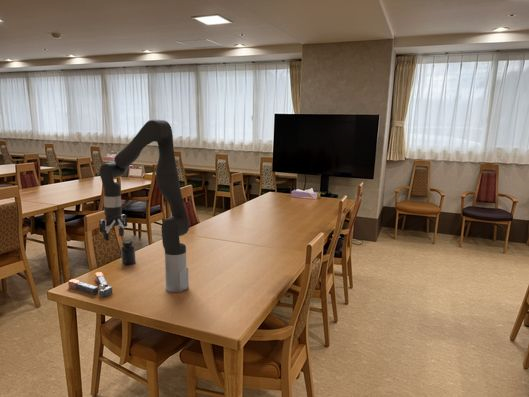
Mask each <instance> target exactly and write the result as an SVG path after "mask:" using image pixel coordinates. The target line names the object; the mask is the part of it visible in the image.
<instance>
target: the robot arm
mask: <svg viewBox="0 0 529 397" xmlns="http://www.w3.org/2000/svg"><path fill="white" fill-rule="evenodd" d="M153 142H155V143H157V147H158V148H157V149H158V161H157V165H156V169H155V177H156V181H157V187H158V190H159V192H160V193H161V195H162V196H163V197H164V199H165V200H166V202H167V203H168V205H169V209H170V212H171V216H170V217H167V218H165V219H164V220H163V221H162V223H161V238H162V246H163V249H164V265H165V266H164V268H165V270H164V271H165V290H166V291H167V292H169V293H182V292H184V291H186V290H187V289H188V288H189V286H190V285H189V279H190V278H189V268H188V267H187V246H186V244H185V243H182V242H181V241H180V240H181V239H180V237H182V236H184V235H186V234H187V233H188V232H189V229H190V221H189V219H188V214H187V211H186V210H187V209H186V208H185V203H184V200H183V194H182V190H181V186H180V183H181V182H180V177H179V172H178V168H177V163H176V162H177V161H176V158H175V149H174V137H173V130H172V126H171V124H170V123H169V122H168V121H167V120H163V119H150V120H148V121H146V122H145V124H144V125H142V127H141V128H140V130H139V131H138V132H137V133H136V135H135V136H134V137H133V138H132V140H130V142H129V143H128V144H127V145H126V146H125V147H124V148H123V149H122V150H120V151H119V152H118V153H117V154H116V155H115V156H114V161H112V162H104V163H102V164H101V165H100V167H99V170H98V171H99V172H98V173H99V177H100V179H101V183H102V186H103V193H104V195H103V196H104V199H103V209H104V216H105V219H99V224H98V226H99V233H102V234H103V239H104V241H105V242H106V241H107V242H108V241H110V234H109V232H110V230H111V229H112V228H113V227H118V236H119V237H124V234H125V227H128V217H127V214H125V213H124V214H123V212H122V211H123V208H122V195H121V184H120V183H119V182H115V180H114V178H118V177H120V176H122V175H124V173H126V170H127V169H128V167H129V166H131V165H132V164H133V163H134V162H135V161H136V160H137V159H138V158H139V157H140V155H141V153H142V151H143V149H145V148H146V146H148V145H150V144H151V143H153Z"/></svg>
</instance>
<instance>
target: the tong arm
mask: <svg viewBox="0 0 529 397" xmlns="http://www.w3.org/2000/svg"><path fill="white" fill-rule="evenodd" d="M94 274H95V275H94V276H95V280H96V283H97V284H98V286H99V285H100V284H105V288H106V287H108V286H109V284H108V282H107V281H106V279H105V277H104V274H103V273H102V271H98V272H95V273H94Z"/></svg>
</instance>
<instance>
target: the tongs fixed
mask: <svg viewBox="0 0 529 397" xmlns="http://www.w3.org/2000/svg"><path fill="white" fill-rule="evenodd" d="M67 282H68V288H69V289H71V290H75V291H79V292H83V293H86V294H89V295H92V296H95V295H98V294H99V297H100V298H106V297H108V296H110V295H112V294H113V286H110V285H108V287H106V288H105V284H100V285H99V284H98V286H96V285H93V284H90V283H86V282H83V281H81V280H79V279H75V278H72V279H69V280H68V281H67Z"/></svg>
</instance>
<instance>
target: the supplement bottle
mask: <svg viewBox="0 0 529 397" xmlns="http://www.w3.org/2000/svg"><path fill="white" fill-rule="evenodd" d="M135 248H136V247H135V246H134V245H133V241H132V240H131V239H127V240H124V241H122V246H121V248H120V254H121V256H120V257H121V264H122V265H123V266H124V265H125V266H131V265H133V264H135V263H136V249H135Z"/></svg>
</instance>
